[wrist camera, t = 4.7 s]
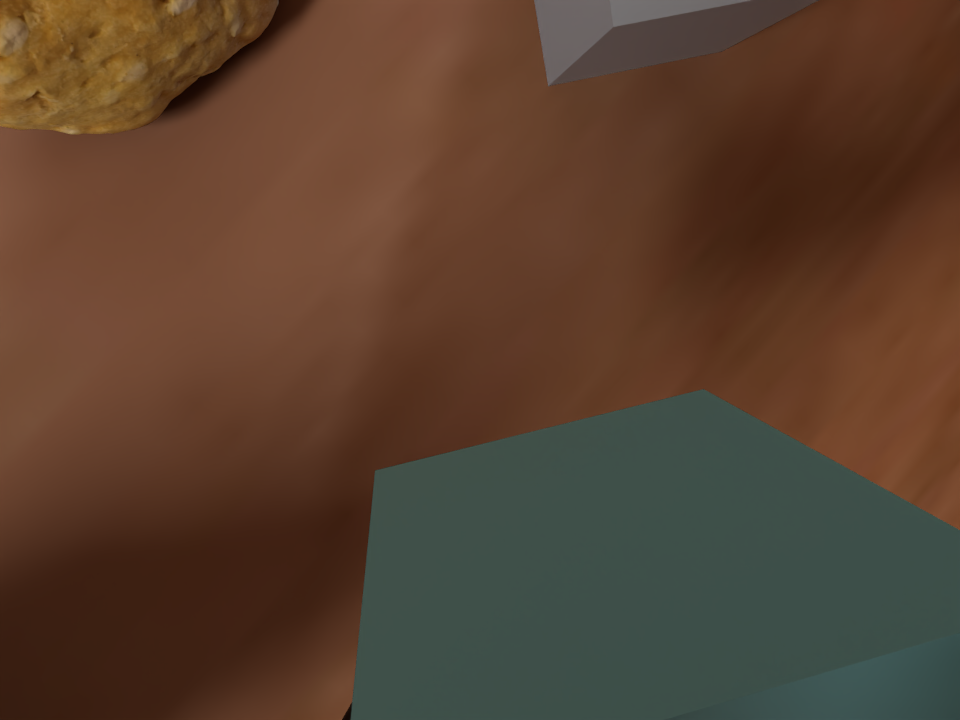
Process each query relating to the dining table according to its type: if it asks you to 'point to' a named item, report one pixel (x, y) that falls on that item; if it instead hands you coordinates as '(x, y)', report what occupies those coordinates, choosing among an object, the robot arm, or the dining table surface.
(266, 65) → the dining table surface
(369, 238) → the dining table surface
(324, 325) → the dining table surface
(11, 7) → the bagel
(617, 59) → the grey cube
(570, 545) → the teal block
